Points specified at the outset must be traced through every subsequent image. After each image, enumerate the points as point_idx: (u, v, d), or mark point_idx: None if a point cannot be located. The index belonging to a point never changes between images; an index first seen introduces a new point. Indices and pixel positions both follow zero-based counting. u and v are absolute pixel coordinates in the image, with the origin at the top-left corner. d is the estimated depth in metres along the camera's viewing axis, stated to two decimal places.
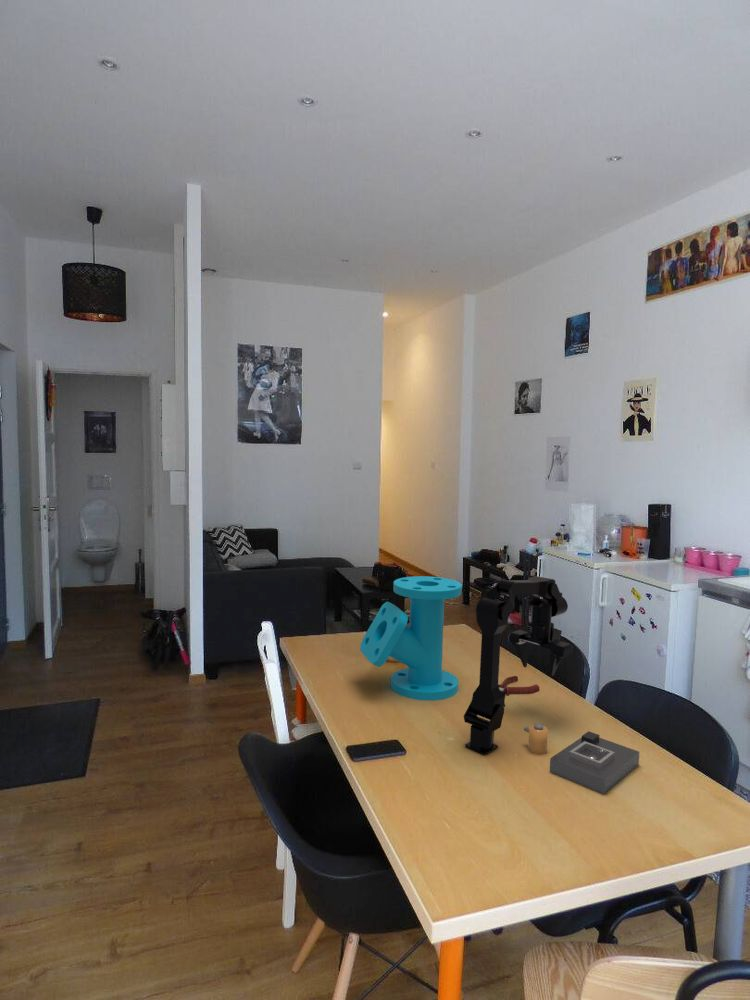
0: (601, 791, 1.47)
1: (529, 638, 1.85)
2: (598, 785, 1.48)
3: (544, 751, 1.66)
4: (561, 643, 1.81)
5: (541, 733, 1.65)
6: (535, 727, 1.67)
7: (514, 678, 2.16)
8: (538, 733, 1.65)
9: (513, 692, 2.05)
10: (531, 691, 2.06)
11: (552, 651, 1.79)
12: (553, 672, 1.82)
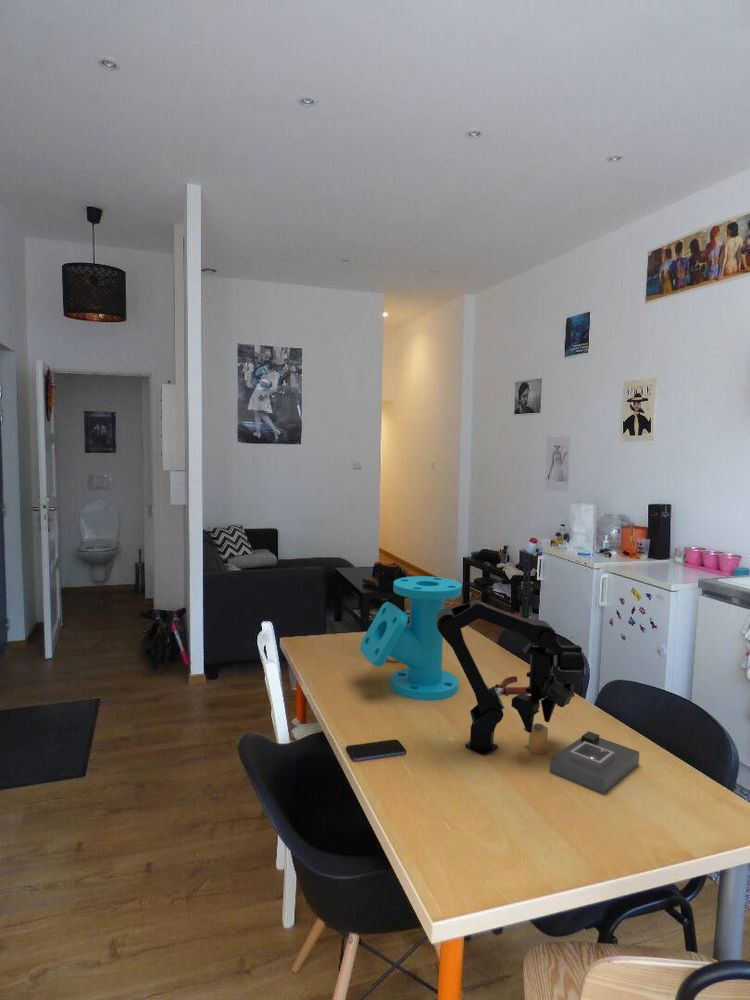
0: (601, 791, 1.47)
1: None
2: (598, 785, 1.48)
3: (544, 751, 1.66)
4: (527, 697, 1.61)
5: (541, 733, 1.65)
6: (535, 727, 1.67)
7: (513, 678, 2.15)
8: (538, 733, 1.65)
9: (512, 692, 2.05)
10: None
11: None
12: (527, 728, 1.64)
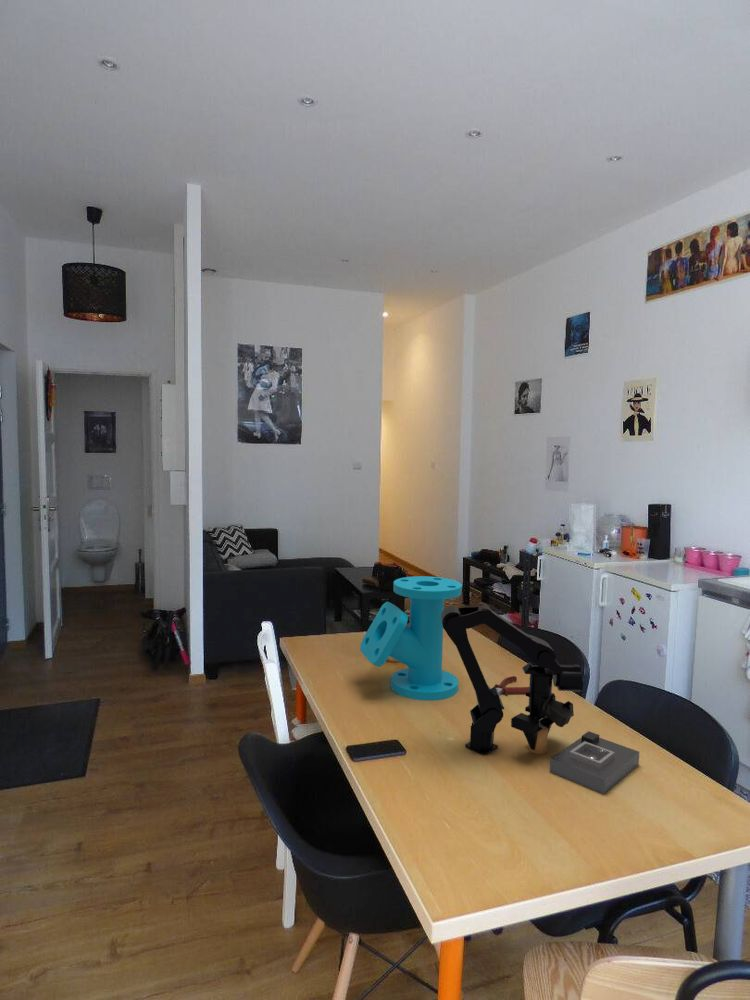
0: (601, 791, 1.47)
1: None
2: (598, 785, 1.48)
3: (544, 751, 1.66)
4: (527, 717, 1.62)
5: (541, 733, 1.65)
6: None
7: (513, 678, 2.15)
8: (538, 733, 1.65)
9: (511, 692, 2.05)
10: None
11: None
12: (531, 745, 1.66)
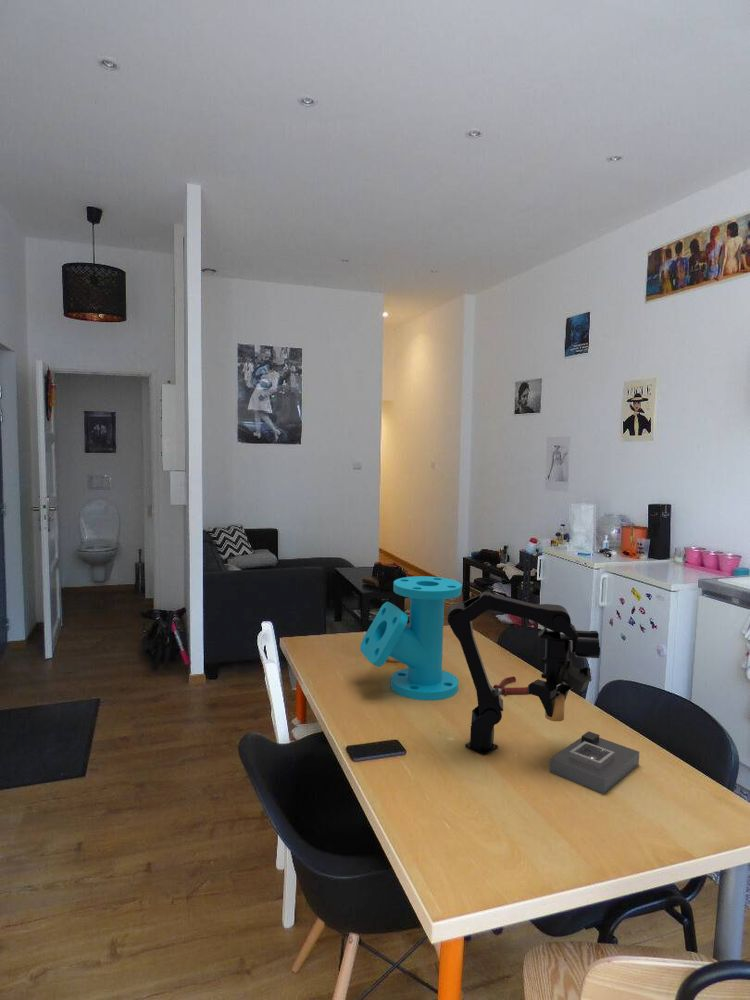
0: (601, 791, 1.47)
1: None
2: (598, 785, 1.48)
3: (561, 718, 1.62)
4: (544, 683, 1.58)
5: (558, 699, 1.61)
6: None
7: (512, 679, 2.15)
8: (555, 700, 1.61)
9: (511, 693, 2.05)
10: None
11: None
12: (548, 712, 1.62)
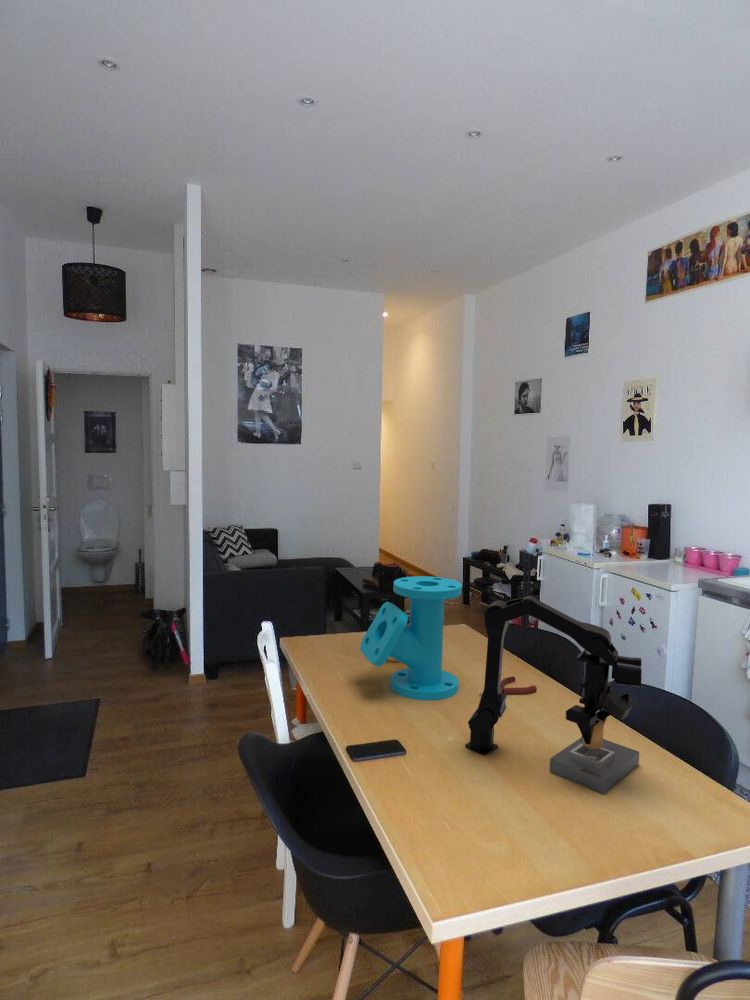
0: (601, 791, 1.47)
1: None
2: (598, 785, 1.48)
3: (600, 746, 1.55)
4: (583, 709, 1.51)
5: (597, 726, 1.54)
6: None
7: (512, 679, 2.15)
8: None
9: (510, 693, 2.04)
10: (528, 692, 2.05)
11: None
12: (585, 739, 1.54)
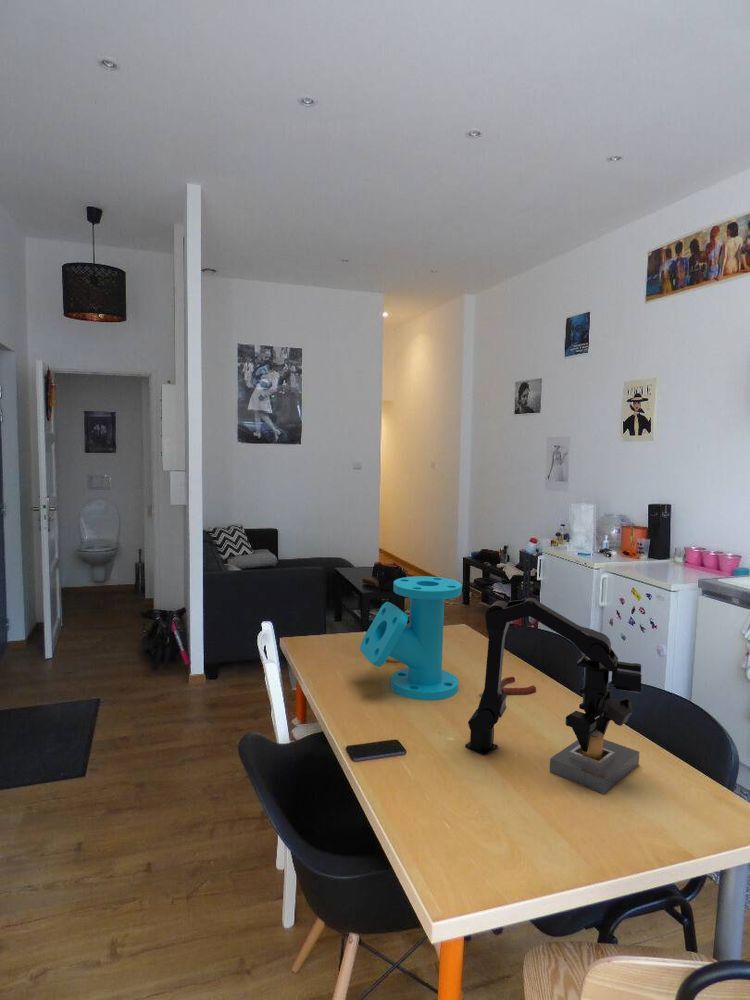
0: (601, 791, 1.47)
1: None
2: (598, 785, 1.48)
3: (600, 758, 1.55)
4: (583, 715, 1.51)
5: (597, 740, 1.54)
6: None
7: (511, 679, 2.15)
8: (593, 741, 1.54)
9: (510, 693, 2.04)
10: (528, 692, 2.05)
11: None
12: (583, 747, 1.53)
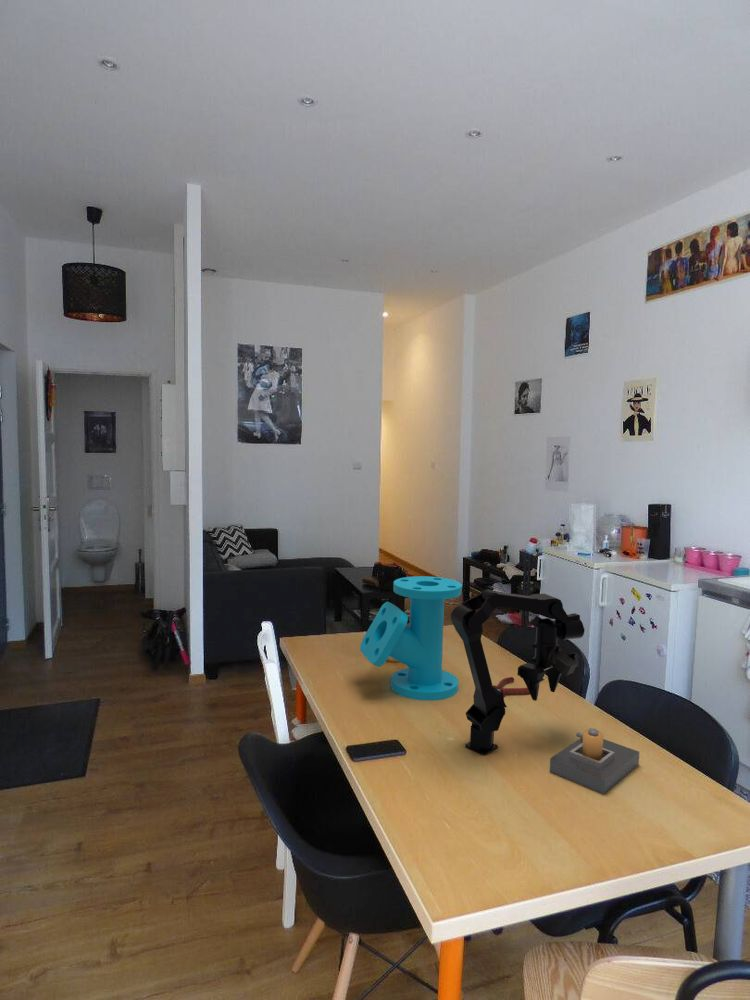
0: (601, 791, 1.47)
1: None
2: (598, 785, 1.48)
3: (600, 758, 1.55)
4: (533, 666, 1.68)
5: (597, 739, 1.54)
6: (590, 733, 1.56)
7: (510, 679, 2.15)
8: (593, 740, 1.54)
9: (509, 693, 2.04)
10: (527, 692, 2.05)
11: None
12: (532, 696, 1.70)
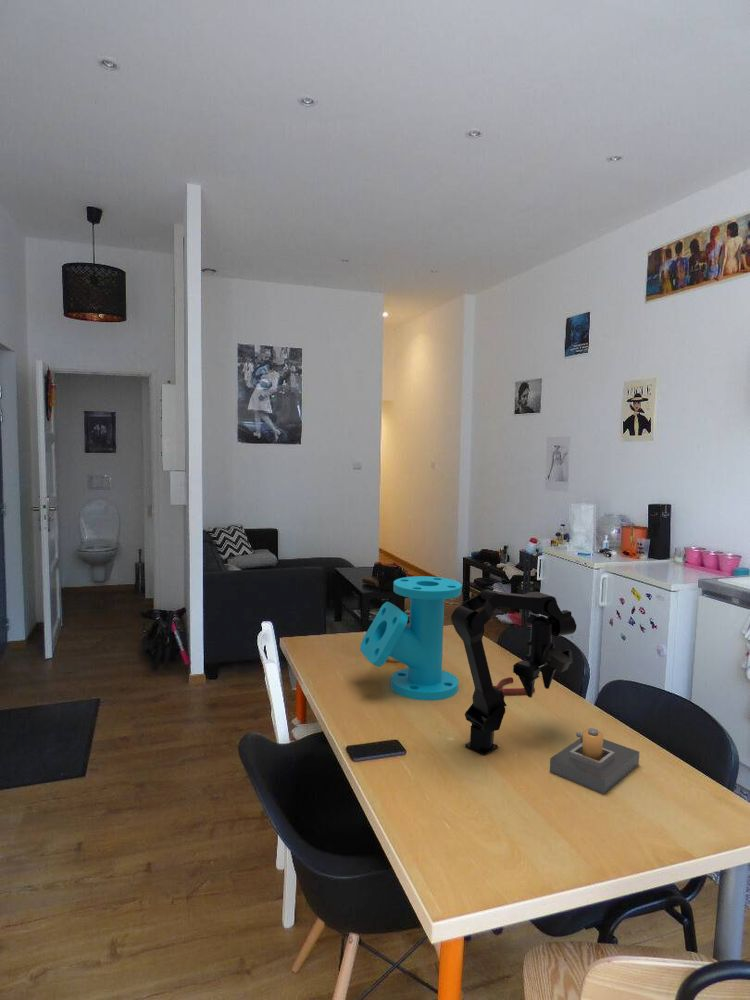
0: (601, 791, 1.47)
1: None
2: (598, 785, 1.48)
3: (600, 758, 1.55)
4: (528, 663, 1.70)
5: (597, 739, 1.54)
6: (590, 733, 1.56)
7: (509, 679, 2.14)
8: (593, 740, 1.54)
9: (508, 694, 2.04)
10: None
11: None
12: (528, 693, 1.72)
